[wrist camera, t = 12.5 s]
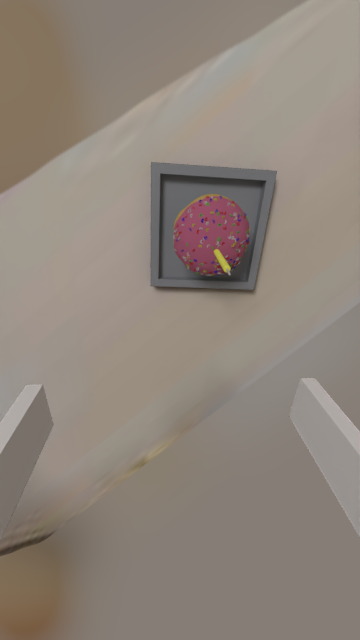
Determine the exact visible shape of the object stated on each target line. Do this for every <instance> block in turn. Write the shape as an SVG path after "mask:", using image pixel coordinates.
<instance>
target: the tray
mask: <svg viewBox="0 0 360 640" xmlns="http://www.w3.org/2000/svg"><path fill="white" fill-rule="evenodd" d="M276 174H277V171H270V170H256V169H241V168H227V167H213V166H198V165H184V164H170V163H155V162H151V286H164V287H192V288H220V289H248V290H254V286H255V281H256V276H257V271H258V266H259V261H260V256H261V251H262V245H263V240H264V235H265V230H266V225H267V220H268V215H269V210H270V204H271V199H272V194H273V189H274V184H275V179H276ZM207 194H219V195H222V196H224V197H227V198H229V199H231V200H233V201H234V202H235V203H236V204H238V205H239V207H240V208H241V209H242V211H243V212H244V213H246V214H245V215H246V217H247V218H248V222H249V228H250V230H249V242H248V243H249V244H248V245H247V247H246V252H244V255H243V257H242V259H241V261H240V263H239V264H237V265H236V267H235V268H233V270H232V271H231V270H230V273H231V275H230V276H229V274H228V273H223V274H220V275H219V276H218V275H211V276H209V275H208V276H206V275H201V274H197V273H195V272H192V271H191V270H189V269H187V267H186V266H185V264H184V263H183V262H182V261H181V260H180V258H179V257H178V256H177V255H176V253H175V251H174V245H173V228H174V222H175V220H176V217H177V216H178V214H179V212H180V211H181V210H182V209H184V208H185V207H186V206H187V205H189V204H190V203H191V202H192V201H194V200H195V199H197V198H198V197H200V196H203V195H207Z"/></svg>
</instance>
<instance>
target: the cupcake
mask: <svg viewBox="0 0 360 640" xmlns="http://www.w3.org/2000/svg"><path fill="white" fill-rule="evenodd" d="M245 214H246V213H244V212H243V211H242V209H241V208H240V207H239V205H238V204H236V203H235V202H234V201H233V200H231V199H229V198H227V197H224V196H222V195H219V194H207V195H203V196H200V197H198V198H197V199H195V200H194V201H192V202H191V203H190V204H189V205H187V206H186V207H185V208H184V209H182V210H181V211H180V212H179V214H178V216H177V217H176V220H175V222H174V228H173V245H174V251H175V253H176V255H177V256H178V257H179V258H180V260H181V261H182V262H183V263H184V264H185V266H186V267H187V269H189V270H191V271H192V272H195V273H197V274H201V275H206V276H208V275H209V276H211V275H218V276H219V275H220V274H223V273H228V274H229V276H230V275H231V273H230V270H231V271H232V270H233V268H235V267H236V265H237V264H239V263H240V261H241V259H242V257H243V255H244V252H246V247H247V245H248V244H249V243H248V242H249V230H250V228H249V222H248V218H247V217H246V215H245Z"/></svg>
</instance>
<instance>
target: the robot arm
mask: <svg viewBox="0 0 360 640" xmlns="http://www.w3.org/2000/svg"><path fill="white" fill-rule="evenodd" d="M289 417H290V419H291V421H292V422H293V424H294V426H295V427H296V429H297V431H298V432H299V434H300V436H301V438H302V439H303V441H304V442H305V444H306V446H307V448H308V450H309V451H310V453H311V455H312V456H313V458H314V460H315V462H316V463H317V465H318V467H319V468H320V470H321V472H322V474H323V475H324V477H325V479H326V480H327V482H328V484H329V486H330V487H331V489H332V491H333V492H334V494H335V496H336V497H337V499H338V501H339V503H340V504H341V506H342V508H343V509H344V511H345V513H346V514H347V516H348V518H349V520H350V521H351V523H352V525H353V526H354V528H355V530H356V532H357V533H358V535H359V537H360V431H359V430H358V429H357V428H356V427H355V426H354V424H353V423H352V422H351V421H350V420H349V419H348V418H347V416H346V415H345V414H344V413H343V412H342V410H341V409H340V408H339V407H338V405H337V404H336V403H335V402H334V401H333V400H332V399H331V397H330V396H329V395H328V394H327V392H326V391H325V390H324V389H323V388H322V387H321V385H320V384H319V383H318V382H317V381H316V379H315V378H301V379H300V383H299V386H298V389H297V392H296V395H295V399H294V402H293V405H292V408H291V411H290V415H289ZM52 427H53V421H52V417H51V413H50V410H49V406H48V402H47V399H46V395H45V391H44V387H43V385H26V386H25V388H24V389H23V390H22V392H21V393H20V395H19V396H18V398H17V399H16V401H15V402H14V403H13V405H12V406H11V408H10V409H9V411H8V412H7V413H6V415H5V416H4V418H3V419H2V421H1V422H0V540H1V538H2V536H3V534H4V532H5V530H6V527H7V525H8V523H9V521H10V519H11V516H12V514H13V512H14V510H15V508H16V506H17V503H18V501H19V499H20V497H21V495H22V492H23V490H24V488H25V486H26V484H27V482H28V479H29V477H30V475H31V473H32V471H33V468H34V466H35V464H36V462H37V460H38V458H39V455H40V453H41V451H42V449H43V447H44V444H45V442H46V440H47V438H48V436H49V434H50V431H51V429H52Z"/></svg>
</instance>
